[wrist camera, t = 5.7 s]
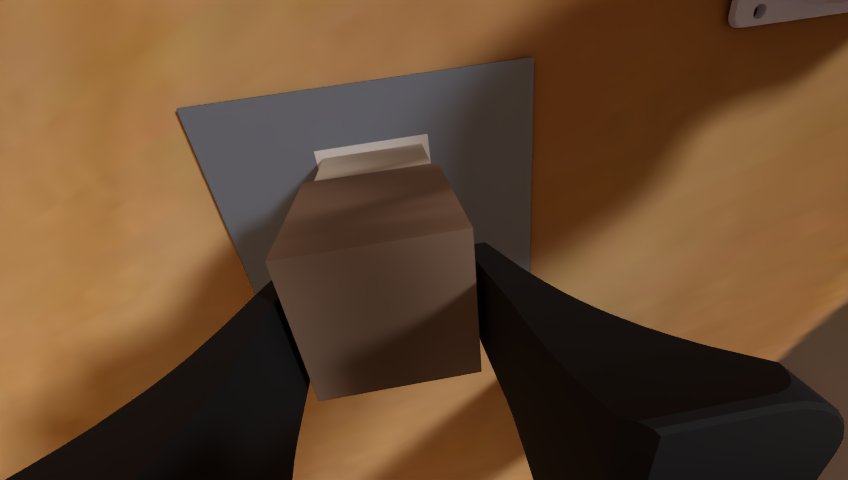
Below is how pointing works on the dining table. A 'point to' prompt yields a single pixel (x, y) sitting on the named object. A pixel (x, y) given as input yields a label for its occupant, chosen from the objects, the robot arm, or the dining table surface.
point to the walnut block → (379, 281)
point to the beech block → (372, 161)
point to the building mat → (374, 148)
